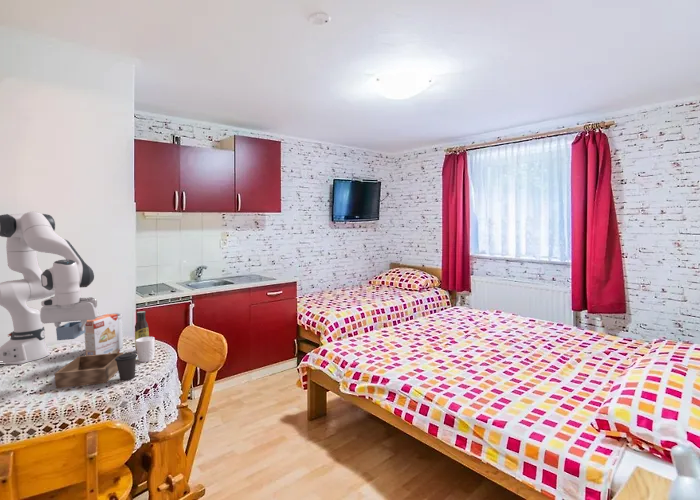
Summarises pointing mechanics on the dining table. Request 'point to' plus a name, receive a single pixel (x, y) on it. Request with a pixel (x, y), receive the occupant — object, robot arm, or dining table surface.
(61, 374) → the big crate
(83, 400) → the dining table surface
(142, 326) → the sauce bottle
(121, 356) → the coffee cup
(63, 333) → the small crate
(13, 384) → the dining table surface
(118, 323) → the white container
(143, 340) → the white cup
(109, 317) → the cracker box
